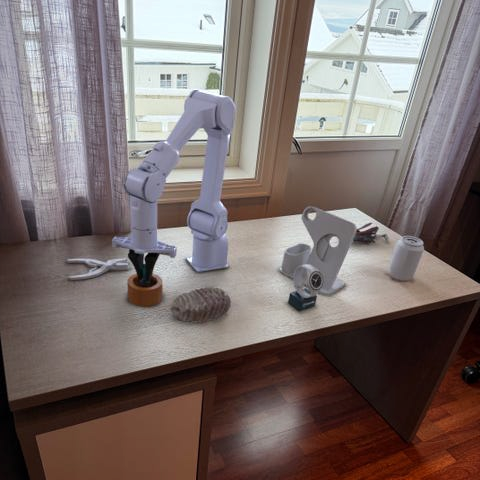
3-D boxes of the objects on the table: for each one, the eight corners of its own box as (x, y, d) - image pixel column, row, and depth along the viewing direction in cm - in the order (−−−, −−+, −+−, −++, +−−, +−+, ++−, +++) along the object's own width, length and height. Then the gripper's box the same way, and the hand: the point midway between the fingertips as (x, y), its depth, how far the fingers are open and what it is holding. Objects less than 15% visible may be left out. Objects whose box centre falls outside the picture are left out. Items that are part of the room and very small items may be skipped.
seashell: (217, 285, 112) (224, 266, 103) (233, 317, 110) (242, 301, 100) (163, 304, 107) (166, 287, 98) (179, 338, 105) (183, 324, 95)
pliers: (66, 256, 118) (124, 252, 123) (67, 261, 119) (125, 257, 124) (68, 274, 110) (130, 270, 115) (69, 280, 111) (130, 275, 116)
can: (413, 274, 135) (427, 238, 128) (410, 285, 129) (424, 248, 122) (388, 267, 137) (401, 231, 130) (384, 277, 131) (397, 240, 124)
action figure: (372, 235, 158) (333, 239, 149) (377, 219, 155) (337, 222, 146) (388, 243, 152) (348, 248, 144) (393, 227, 149) (353, 230, 140)
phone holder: (276, 270, 127) (287, 210, 117) (297, 260, 134) (309, 203, 124) (326, 296, 119) (343, 234, 108) (346, 284, 125) (363, 224, 115)
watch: (304, 315, 110) (313, 277, 104) (283, 299, 115) (290, 262, 108) (320, 310, 113) (330, 272, 106) (299, 294, 118) (307, 257, 111)
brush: (148, 289, 110) (148, 260, 105) (152, 294, 108) (152, 265, 103) (138, 290, 108) (137, 261, 104) (141, 296, 107) (141, 267, 102)
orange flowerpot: (155, 286, 114) (155, 270, 111) (167, 302, 108) (167, 286, 105) (123, 291, 110) (123, 275, 107) (134, 309, 104) (133, 292, 102)
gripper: (105, 227, 95) (109, 281, 103) (171, 238, 94) (169, 292, 102) (117, 214, 101) (120, 267, 109) (179, 225, 100) (178, 277, 108)
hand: (144, 278), depth 106 cm, fingers closed on brush
